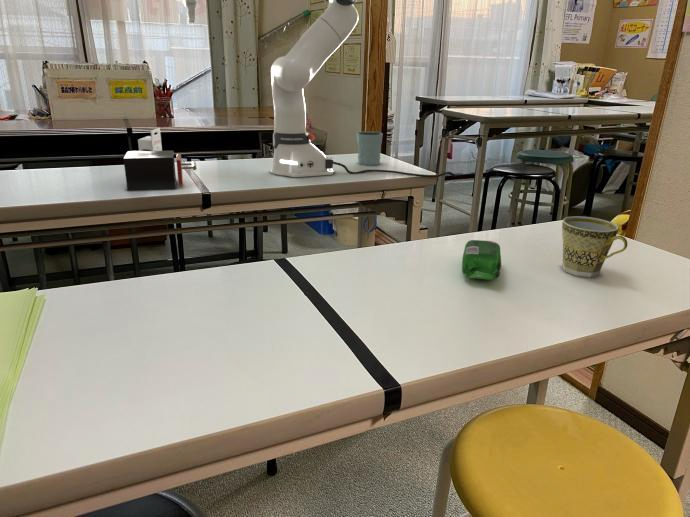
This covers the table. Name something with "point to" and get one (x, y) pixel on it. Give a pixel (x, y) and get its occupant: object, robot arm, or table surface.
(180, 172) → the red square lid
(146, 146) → the ink box
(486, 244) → the snack package
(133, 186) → the black drawer casing
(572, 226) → the ceramic cup
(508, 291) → the table surface
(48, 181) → the table surface
